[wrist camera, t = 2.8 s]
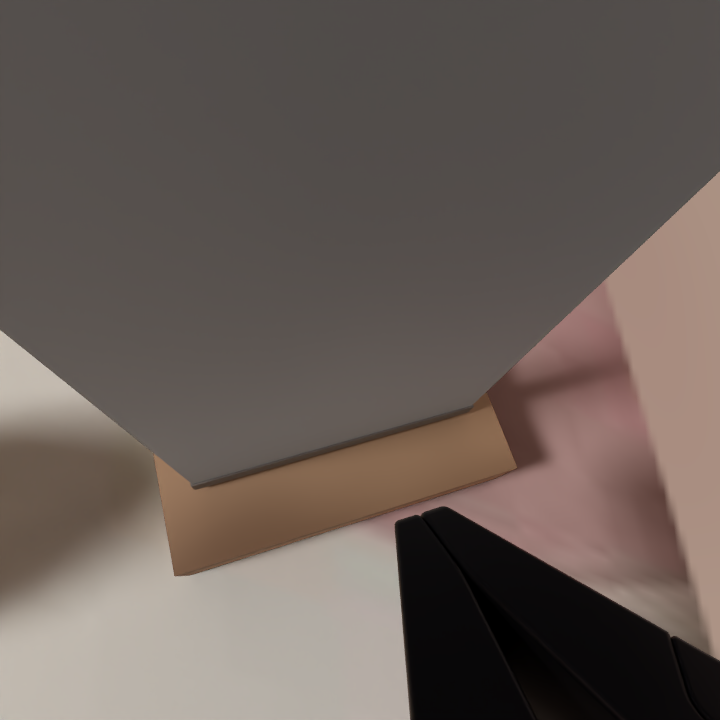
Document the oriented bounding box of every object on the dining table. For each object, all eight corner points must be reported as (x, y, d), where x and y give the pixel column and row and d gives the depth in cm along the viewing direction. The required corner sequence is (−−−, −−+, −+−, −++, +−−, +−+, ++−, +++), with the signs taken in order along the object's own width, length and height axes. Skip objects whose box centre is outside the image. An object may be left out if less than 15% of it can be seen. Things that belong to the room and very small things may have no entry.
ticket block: (494, 478, 17) (517, 467, 16) (189, 575, 15) (174, 576, 14) (398, 232, 21) (408, 200, 19) (136, 285, 19) (118, 254, 17)
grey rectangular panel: (466, 413, 16) (1211, -279, 3) (195, 490, 14) (-871, -332, 1) (453, 380, 16) (1067, -368, 3) (188, 451, 15) (-702, -499, 2)
